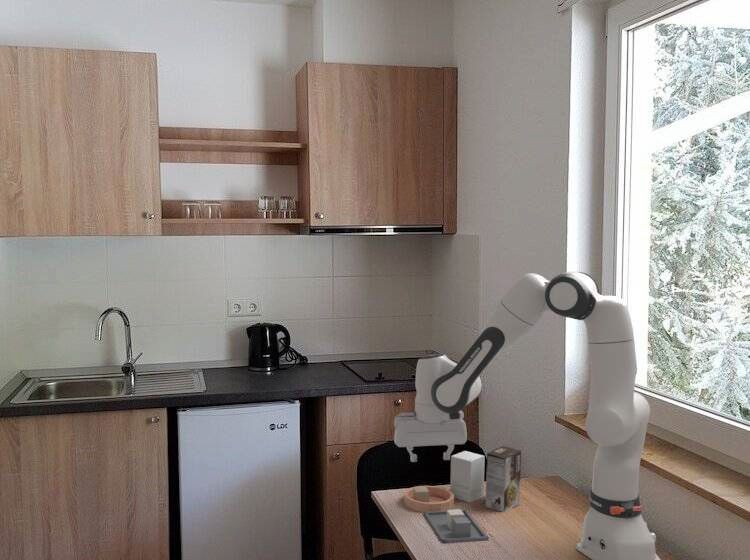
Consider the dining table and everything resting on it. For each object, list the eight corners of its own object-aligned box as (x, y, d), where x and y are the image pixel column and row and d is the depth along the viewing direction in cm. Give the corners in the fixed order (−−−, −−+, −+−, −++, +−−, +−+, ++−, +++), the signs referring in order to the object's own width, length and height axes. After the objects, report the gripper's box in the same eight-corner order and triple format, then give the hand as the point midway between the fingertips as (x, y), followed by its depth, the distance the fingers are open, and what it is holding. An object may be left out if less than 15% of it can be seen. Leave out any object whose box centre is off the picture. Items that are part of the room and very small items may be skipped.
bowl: (460, 512, 219) (460, 502, 219) (411, 515, 217) (411, 505, 216) (445, 494, 233) (446, 484, 233) (399, 497, 230) (399, 487, 230)
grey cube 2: (470, 537, 202) (471, 522, 202) (456, 538, 201) (456, 523, 201) (466, 532, 205) (466, 517, 205) (452, 532, 205) (452, 518, 204)
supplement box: (484, 497, 231) (486, 455, 230) (469, 504, 226) (470, 461, 225) (464, 491, 236) (465, 449, 235) (448, 497, 231) (450, 455, 230)
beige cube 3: (464, 529, 207) (464, 514, 207) (450, 529, 207) (450, 515, 206) (459, 523, 211) (460, 509, 210) (446, 524, 210) (446, 509, 210)
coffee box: (500, 499, 231) (502, 445, 229) (520, 504, 226) (522, 450, 225) (484, 508, 224) (486, 452, 222) (504, 514, 219) (506, 457, 218)
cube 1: (428, 505, 223) (429, 491, 223) (415, 505, 222) (416, 492, 222) (425, 500, 226) (426, 487, 226) (412, 501, 226) (413, 487, 225)
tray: (488, 541, 201) (488, 537, 201) (442, 544, 199) (442, 540, 199) (466, 513, 219) (466, 509, 219) (424, 516, 217) (424, 511, 216)
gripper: (396, 416, 213) (396, 466, 214) (469, 413, 217) (468, 462, 218) (391, 410, 219) (391, 458, 221) (462, 407, 223) (461, 455, 224)
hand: (430, 460), depth 219 cm, fingers open, 8 cm apart
